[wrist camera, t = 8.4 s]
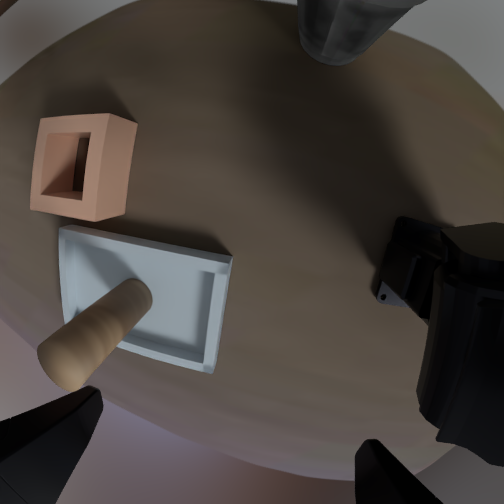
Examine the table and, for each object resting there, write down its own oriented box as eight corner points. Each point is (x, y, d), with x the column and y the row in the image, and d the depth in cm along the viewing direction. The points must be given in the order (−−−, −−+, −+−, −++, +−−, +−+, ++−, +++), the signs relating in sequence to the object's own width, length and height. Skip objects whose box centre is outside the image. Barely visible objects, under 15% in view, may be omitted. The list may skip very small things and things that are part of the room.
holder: (137, 123, 18) (109, 113, 14) (124, 213, 19) (94, 221, 15) (71, 124, 18) (40, 118, 14) (61, 203, 20) (30, 209, 16)
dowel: (153, 283, 20) (74, 356, 10) (152, 318, 21) (84, 400, 11) (119, 274, 20) (32, 334, 10) (119, 308, 21) (44, 378, 11)
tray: (233, 256, 19) (229, 263, 18) (216, 360, 22) (212, 373, 20) (72, 224, 20) (58, 227, 18) (75, 318, 22) (65, 326, 20)
